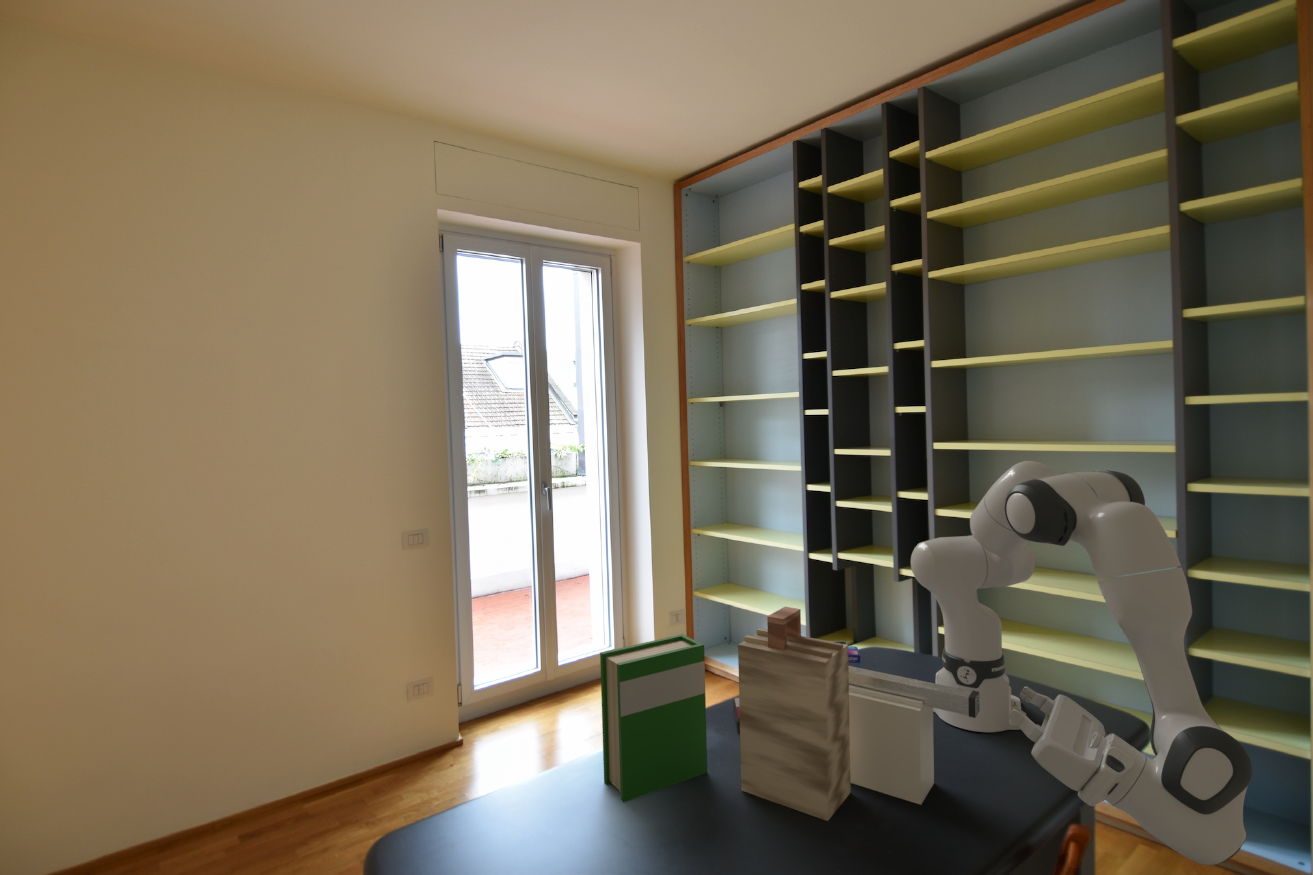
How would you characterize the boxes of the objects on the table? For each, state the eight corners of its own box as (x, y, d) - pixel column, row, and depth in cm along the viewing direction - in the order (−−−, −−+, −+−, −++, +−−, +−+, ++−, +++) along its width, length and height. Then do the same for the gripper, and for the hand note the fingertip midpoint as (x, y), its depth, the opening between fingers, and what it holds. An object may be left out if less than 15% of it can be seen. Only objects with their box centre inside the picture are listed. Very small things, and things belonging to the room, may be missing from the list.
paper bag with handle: (767, 765, 128) (764, 600, 127) (850, 792, 118) (847, 613, 117) (741, 790, 120) (737, 614, 119) (827, 820, 110) (824, 629, 109)
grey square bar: (840, 680, 128) (840, 663, 127) (979, 710, 113) (979, 691, 113) (833, 685, 125) (833, 668, 125) (975, 717, 111) (975, 698, 111)
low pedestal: (856, 760, 129) (855, 673, 128) (934, 783, 121) (932, 689, 120) (840, 779, 123) (838, 687, 122) (921, 804, 114) (919, 706, 114)
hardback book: (623, 802, 117) (619, 665, 116) (604, 783, 124) (600, 652, 123) (707, 772, 126) (704, 644, 125) (685, 755, 133) (682, 634, 132)
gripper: (1123, 723, 109) (1037, 665, 116) (1115, 780, 92) (1016, 708, 99) (1100, 751, 111) (1017, 693, 118) (1088, 812, 94) (993, 740, 101)
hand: (1016, 700), depth 108 cm, fingers open, 8 cm apart
